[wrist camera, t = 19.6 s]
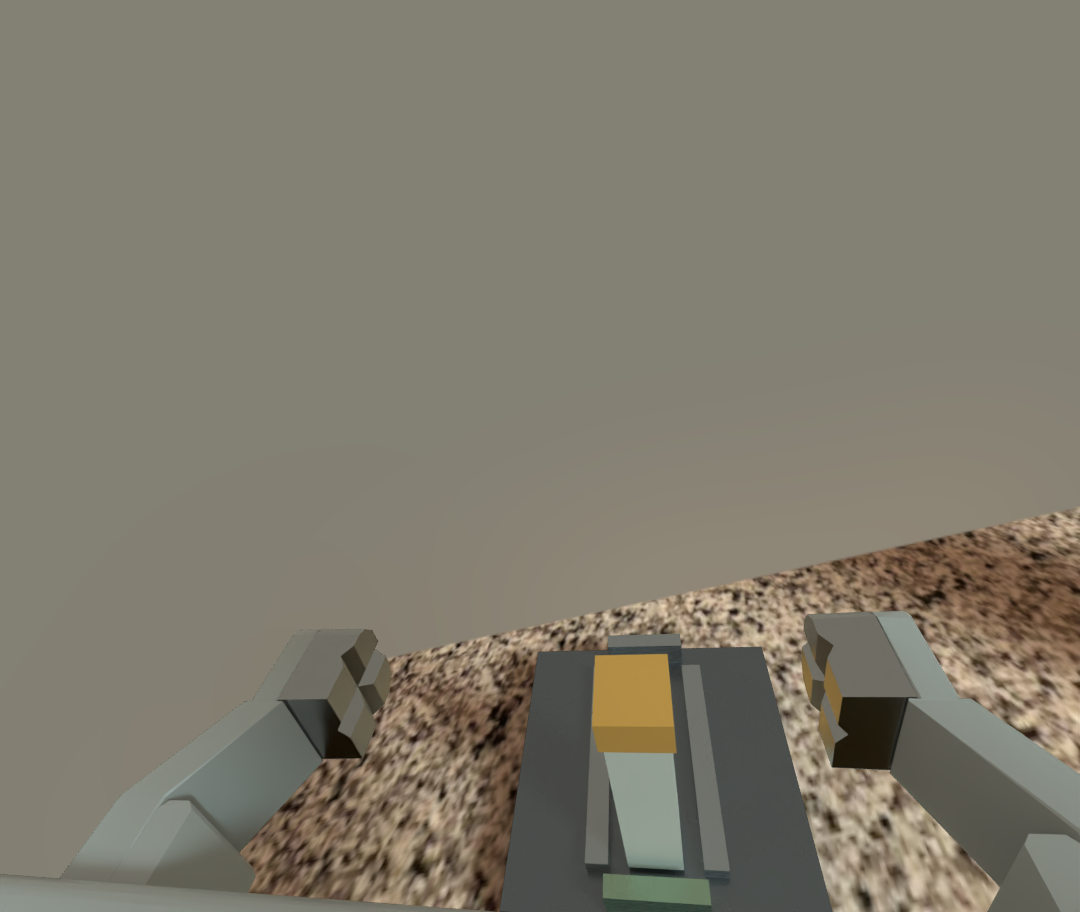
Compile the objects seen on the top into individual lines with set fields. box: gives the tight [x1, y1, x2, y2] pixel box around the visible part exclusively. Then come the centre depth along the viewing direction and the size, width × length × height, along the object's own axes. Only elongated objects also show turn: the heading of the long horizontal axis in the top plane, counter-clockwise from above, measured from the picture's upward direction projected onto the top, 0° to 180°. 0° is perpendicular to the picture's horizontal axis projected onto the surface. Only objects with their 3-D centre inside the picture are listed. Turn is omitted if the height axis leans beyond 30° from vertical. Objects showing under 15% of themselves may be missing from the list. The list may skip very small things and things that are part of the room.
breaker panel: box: [500, 634, 832, 912], centre depth 33 cm, size 16×16×5 cm
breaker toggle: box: [592, 654, 684, 870], centre depth 26 cm, size 3×3×12 cm
